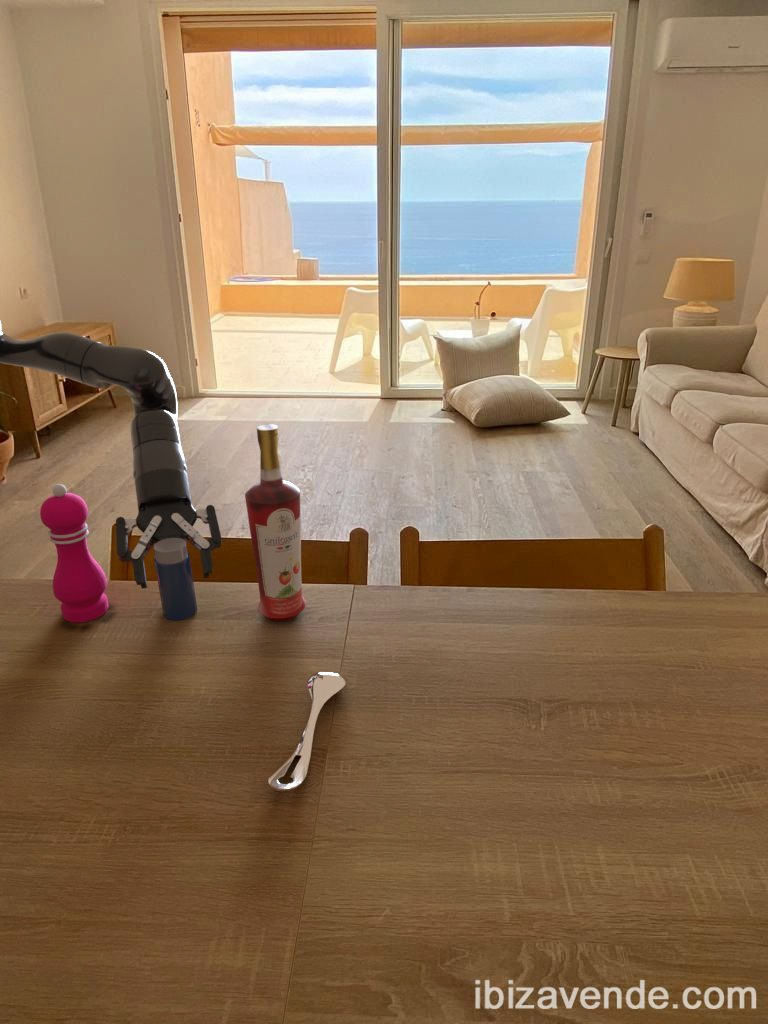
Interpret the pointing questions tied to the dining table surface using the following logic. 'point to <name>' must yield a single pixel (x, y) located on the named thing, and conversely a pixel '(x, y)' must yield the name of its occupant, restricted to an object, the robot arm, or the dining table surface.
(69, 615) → the pepper mill
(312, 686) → the ice cream scoop
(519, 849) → the dining table surface
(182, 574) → the cylinder
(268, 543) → the liquor
